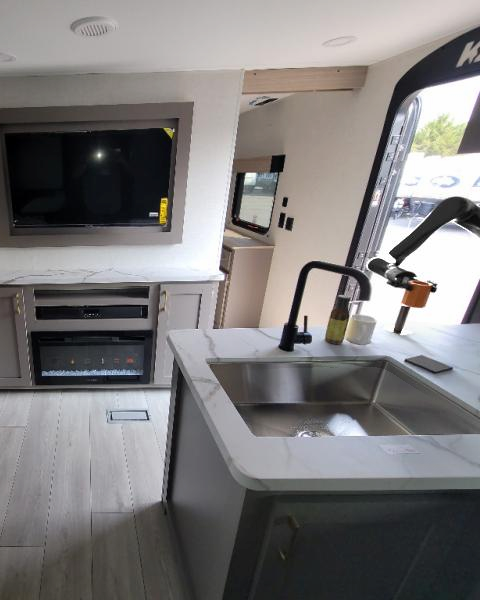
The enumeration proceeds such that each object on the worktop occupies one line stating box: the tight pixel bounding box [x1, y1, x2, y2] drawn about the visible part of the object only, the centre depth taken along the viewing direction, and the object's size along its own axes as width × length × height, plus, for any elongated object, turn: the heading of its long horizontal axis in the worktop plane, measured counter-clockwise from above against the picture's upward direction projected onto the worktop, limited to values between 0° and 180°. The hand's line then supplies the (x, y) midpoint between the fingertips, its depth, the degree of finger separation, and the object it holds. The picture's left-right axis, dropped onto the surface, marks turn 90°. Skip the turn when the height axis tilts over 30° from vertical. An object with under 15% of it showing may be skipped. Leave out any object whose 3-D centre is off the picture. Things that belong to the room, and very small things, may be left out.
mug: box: [344, 313, 378, 346], centre depth 132 cm, size 12×8×10 cm
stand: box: [382, 303, 413, 336], centre depth 138 cm, size 7×7×13 cm
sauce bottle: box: [324, 294, 351, 345], centre depth 132 cm, size 7×6×20 cm
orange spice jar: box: [400, 280, 433, 309], centre depth 125 cm, size 6×6×9 cm
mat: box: [404, 354, 454, 375], centre depth 117 cm, size 9×9×1 cm
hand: (422, 289), depth 122 cm, fingers closed on orange spice jar, 6 cm apart
